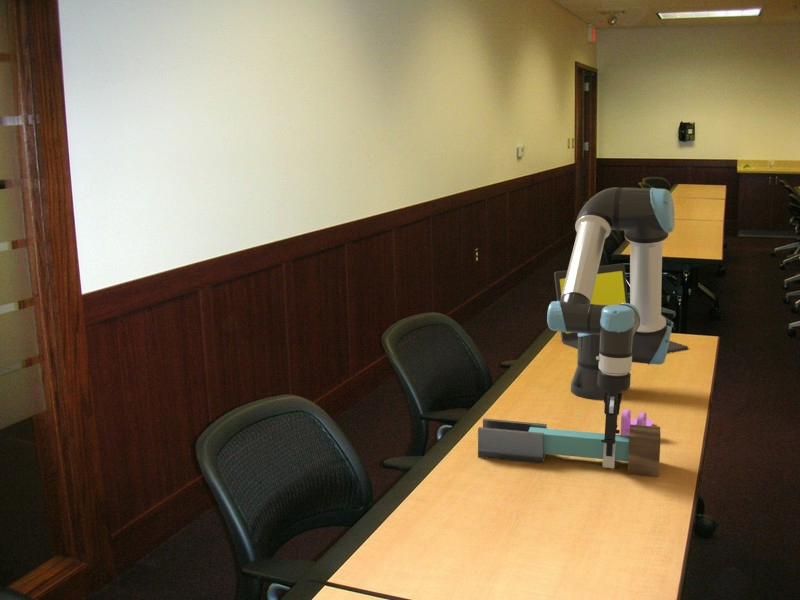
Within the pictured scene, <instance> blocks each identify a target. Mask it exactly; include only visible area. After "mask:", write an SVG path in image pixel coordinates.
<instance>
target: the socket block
mask: <svg viewBox="0 0 800 600" xmlns="http://www.w3.org/2000/svg"><path fill="white" fill-rule="evenodd" d="M660 457H661V427H660V426H654V425H653V426H643V425H631V424H630V434H629V453H628V462H627V475H636V476H643V477H644V476H645V477H653V478H659V477H660V476H659V475H660Z"/></svg>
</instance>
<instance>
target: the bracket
mask: <svg viewBox="0 0 800 600" xmlns="http://www.w3.org/2000/svg"><path fill="white" fill-rule="evenodd" d="M631 417H632V413H631V410H630V409H623V410H622V412H621V416H620V433H619V435H625V436H629V434H630V424H631V425H643V426H654V420H652V419H650V418H647V417H648V415H647V413H646V412H644V411H639V412H638V414H637V417H635V418H633V419H631Z"/></svg>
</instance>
